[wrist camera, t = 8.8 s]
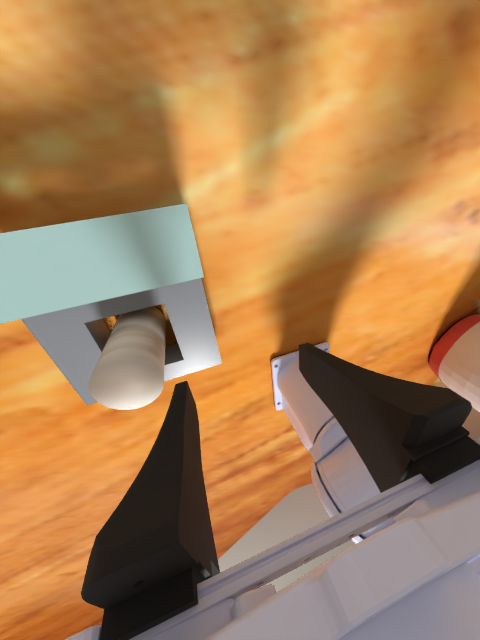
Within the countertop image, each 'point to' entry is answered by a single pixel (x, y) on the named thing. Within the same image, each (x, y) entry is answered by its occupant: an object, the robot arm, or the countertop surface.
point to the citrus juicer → (460, 359)
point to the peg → (131, 361)
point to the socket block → (107, 287)
